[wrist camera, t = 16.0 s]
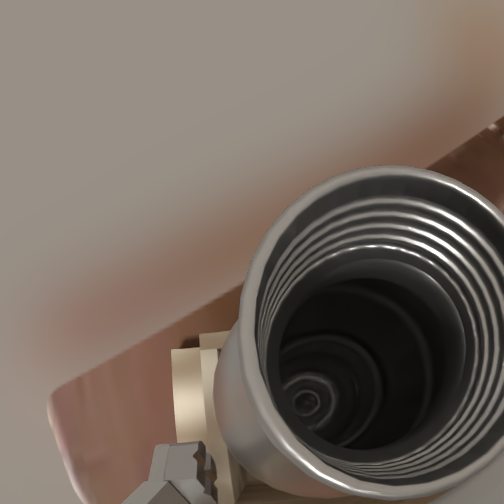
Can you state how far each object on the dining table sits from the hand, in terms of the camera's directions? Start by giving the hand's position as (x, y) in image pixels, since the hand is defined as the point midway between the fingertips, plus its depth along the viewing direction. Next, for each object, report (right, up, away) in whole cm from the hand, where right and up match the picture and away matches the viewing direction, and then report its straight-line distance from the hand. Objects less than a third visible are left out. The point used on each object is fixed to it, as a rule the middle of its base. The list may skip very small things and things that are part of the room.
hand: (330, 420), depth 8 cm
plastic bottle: (+1, -6, +11) cm, 13 cm away
